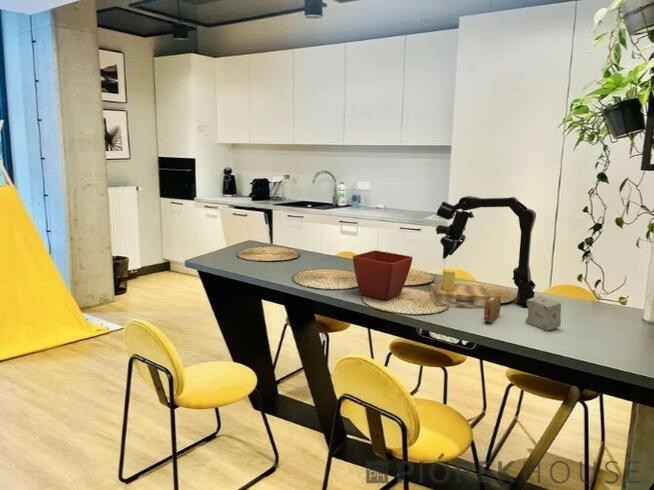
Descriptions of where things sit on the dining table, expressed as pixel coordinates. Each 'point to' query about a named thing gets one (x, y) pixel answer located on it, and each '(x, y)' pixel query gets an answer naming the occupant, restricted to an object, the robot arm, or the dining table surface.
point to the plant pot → (381, 273)
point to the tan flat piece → (460, 296)
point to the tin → (492, 309)
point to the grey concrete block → (543, 313)
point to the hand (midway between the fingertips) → (446, 256)
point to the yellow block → (448, 280)
